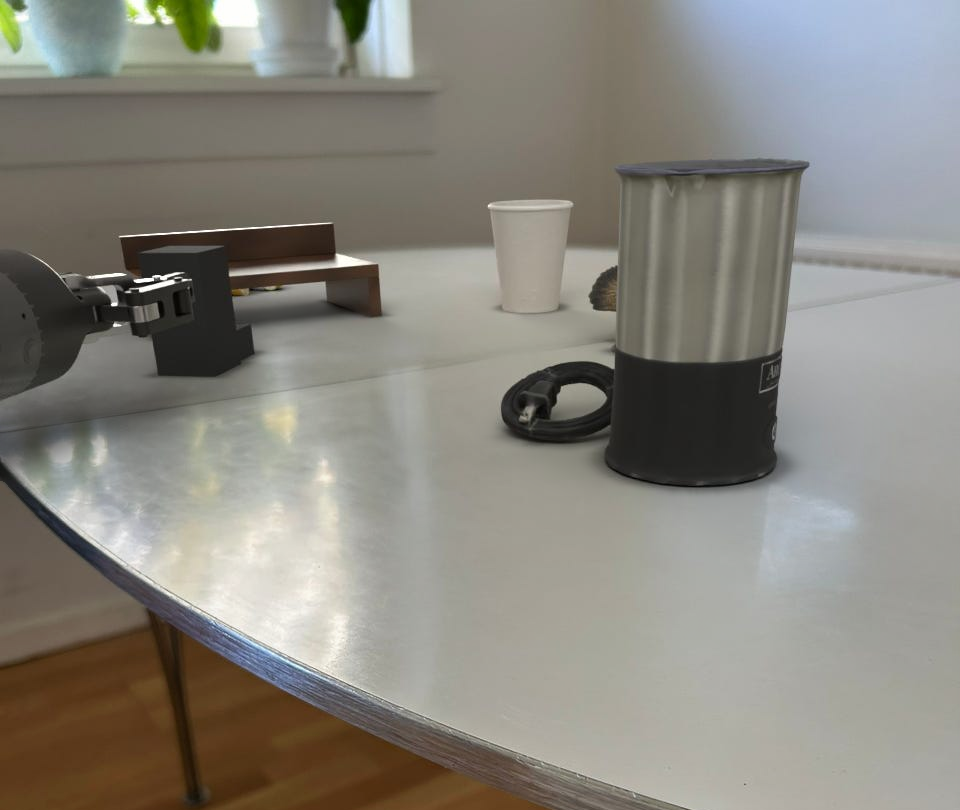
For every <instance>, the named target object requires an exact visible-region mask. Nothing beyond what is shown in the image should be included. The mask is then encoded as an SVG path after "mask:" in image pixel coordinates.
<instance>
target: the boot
mask: <svg viewBox="0 0 960 810" xmlns="http://www.w3.org/2000/svg"><path fill="white" fill-rule="evenodd" d="M138 259H139V265H140V271H141V277H142V279H150V278H153V276H165V275H168V274H172V273H176V272H178V273H187V274H188V276H189V279H192V283H193V290H194V297H195V302H194V303H192V309H193V315H194V320H193V321H190V322H189V323H184V324H181V325H178V326H175V327H172V328H169V329H166V330H163V331H160V332H157V333H154V334H151V335H150V336H151V342H152V347H153V351H154V352H153V353H154V359H155V365H156V371H157V375H158V376H159V377H190V378H191V377H198V378H217V377H218V376H221V375H222V374H224V373H226V372H229V371H230V370H232V369H234V368H236V367H238V366H241V365H242V361H244V360H245V359H247V358H250V357H251V356H253V355H255V354H256V353H255V346H254V345H255V344H254V338H253V330H252V329H253V328H252V324H251V323H236V315H235V308H234V300H233V294H232V291H231V284H230V276H229V269H228V261H227V253H226V246H167V247H162V248H158V249H153V250H149V251H144V252H140V253H138Z"/></svg>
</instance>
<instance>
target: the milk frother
mask: <svg viewBox="0 0 960 810" xmlns="http://www.w3.org/2000/svg"><path fill="white" fill-rule="evenodd" d="M810 165H811V164H810V161H805V160H800V159H798V160H796V159H789V158H788V159H787V158H784V159H779V158H762V157H758V158H744V159H735V158H722V159H721V158H720V159H692V160H690V159H688V160H686V159H685V160H668V161H666V160H665V161H645V162H638V163H637V162H636V163H626V164H625V163H624V164H619V165H616V166H614V168H613V169H614V172H615V173H616V174H617V175H618V176H619V179H620V183H619V185H620V186H619V187H620V188H619V212H618V213H619V214H618V215H619V216H618V218H619V219H618V247H617V248H618V249H617V266H618V273H617V302H616V312H615V337H614V338H615V341H616V342H615V344H616V345H615V352H614V368H612V367H610V366H608V365H605V364H603V363H599V362H595V361H588V360H576V361H567V362H560V363H557V364H554V365H551V366H547V367H544V368H543V369H541V370H540V369H539V370H536V371H535V372H531V373H529V374H527V375H526V377H524V378H521V379H520V380H518V381H517V382H515V383H514V384H513V385H512V386H511V387H509V389H507V391H506V392H505V393H504V395H503V397H502V399H501V402H500V415H501V416H500V417H501V419H502V422H503V423H504V424H505V426H506V427H508V428H509V429H511V430H512V431H514V432H515V433H518V434H521V435H524V436H526V437H531V438H533V439H540V440H550V441H570V440H576V439H580V438H584V437H588V436H591V435H594V434H596V433H599V432H601V431H603V430H605V429H607V428H608V427H609V426H610V430H609V439H608V444H607V446H606V448H605V450H604V456H603V457H604V460H605V462H606V463H607V464H608V466H609V467H611V469H614V470H615V471H616V472H618V473H620V474H623V475H625V476H629V477H632V478H634V479H635V478H637V479H639V480H644V481H647V482H652V483H656V484H662V485H663V484H664V485H673V486H689V487H697V486H699V487H702V486H720V485H721V486H722V485H731V484H738V483H744V482H748V481H753V480H755V479H758V478H761V477H763V476H766V475H767V474H768V473H770V472H772V470H774V468H775V467H776V466H777V463H778V455H777V453H776V451H775V443H776V439H777V429H778V428H777V427H778V416H777V408H778V398H779V384H780V379H781V373H782V364H783V363H782V362H783V350H784V348H783V346H784V340H785V333H786V326H787V325H786V324H787V317H788V316H787V315H788V305H789V298H790V297H789V296H790V286H791V278H792V269H793V260H794V259H793V257H794V249H795V239H796V229H797V219H798V212H799V211H798V209H799V201H800V191H801V184H802V183H801V182H802V175H803V173H804V172H805V171H806V170H807V169H809V167H810ZM576 384H577V385H578V384H586V385H590V386H592V387H594V388H596V389H598V390H600V391H601V392H603V394H604V395H605V397H606V400H605V402H604V403H603V404H602V405H601V406H600V407H598V408H597V409H595V410H594V411H592V412H590V413H587V414H584V415H582V416H577V417H573V418H567V419H551V414H552V411H553V410H552V409H553V408H554V407H555V406H556V405H557V404H558V395H559V394H560V393H561V390H562V387H564V386H569V385H576Z"/></svg>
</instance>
